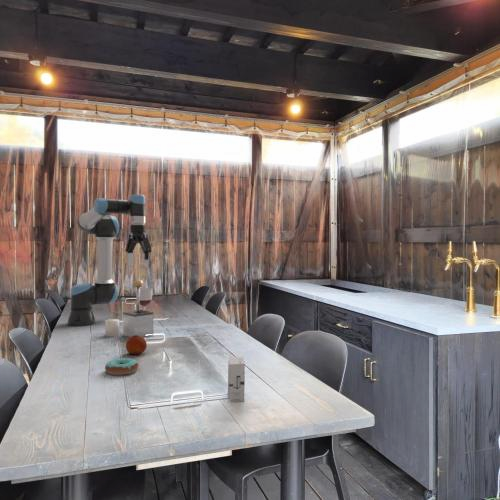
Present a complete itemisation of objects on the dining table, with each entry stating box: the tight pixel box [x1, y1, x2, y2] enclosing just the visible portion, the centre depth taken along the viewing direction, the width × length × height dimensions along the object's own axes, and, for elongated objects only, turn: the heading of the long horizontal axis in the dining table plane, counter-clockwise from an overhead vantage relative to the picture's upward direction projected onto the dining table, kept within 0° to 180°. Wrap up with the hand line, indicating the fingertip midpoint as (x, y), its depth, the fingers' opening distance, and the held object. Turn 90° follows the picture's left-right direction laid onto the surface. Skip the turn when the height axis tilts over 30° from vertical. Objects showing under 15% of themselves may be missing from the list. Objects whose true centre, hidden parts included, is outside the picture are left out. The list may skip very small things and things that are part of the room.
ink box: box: [227, 356, 246, 403], centre depth 134 cm, size 9×5×12 cm, turn 5°
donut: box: [104, 357, 139, 376], centre depth 160 cm, size 12×12×4 cm
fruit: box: [125, 335, 147, 355], centre depth 185 cm, size 9×9×8 cm
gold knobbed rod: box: [133, 279, 144, 313], centre depth 222 cm, size 7×7×19 cm
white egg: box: [104, 318, 120, 338], centre depth 222 cm, size 7×7×8 cm
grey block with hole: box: [122, 309, 154, 338], centre depth 222 cm, size 11×11×12 cm
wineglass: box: [135, 287, 154, 311], centre depth 241 cm, size 9×10×22 cm
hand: (138, 265), depth 221 cm, fingers open, 13 cm apart
